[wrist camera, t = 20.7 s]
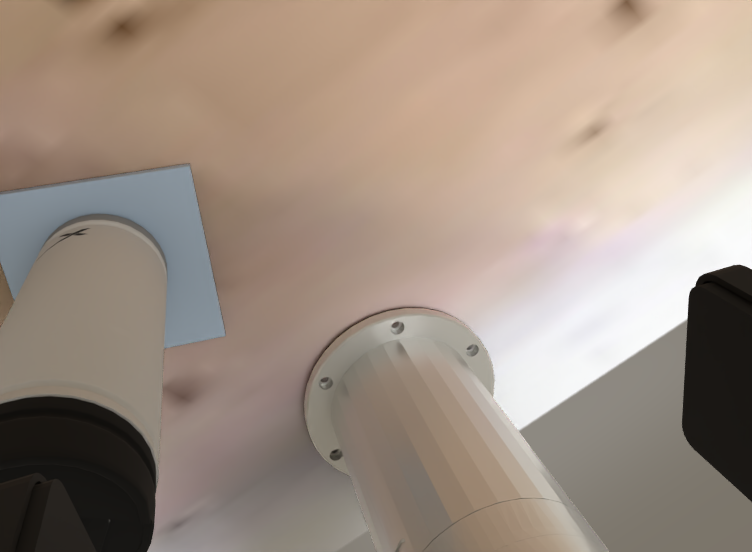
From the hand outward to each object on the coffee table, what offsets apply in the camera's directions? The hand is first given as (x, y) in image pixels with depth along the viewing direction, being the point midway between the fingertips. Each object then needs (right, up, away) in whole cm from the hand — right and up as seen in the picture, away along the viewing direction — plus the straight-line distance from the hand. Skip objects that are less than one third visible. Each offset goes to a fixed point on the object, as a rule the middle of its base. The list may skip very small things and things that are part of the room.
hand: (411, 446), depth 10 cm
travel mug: (-15, +3, +25) cm, 30 cm away
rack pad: (-15, +3, +26) cm, 30 cm away
